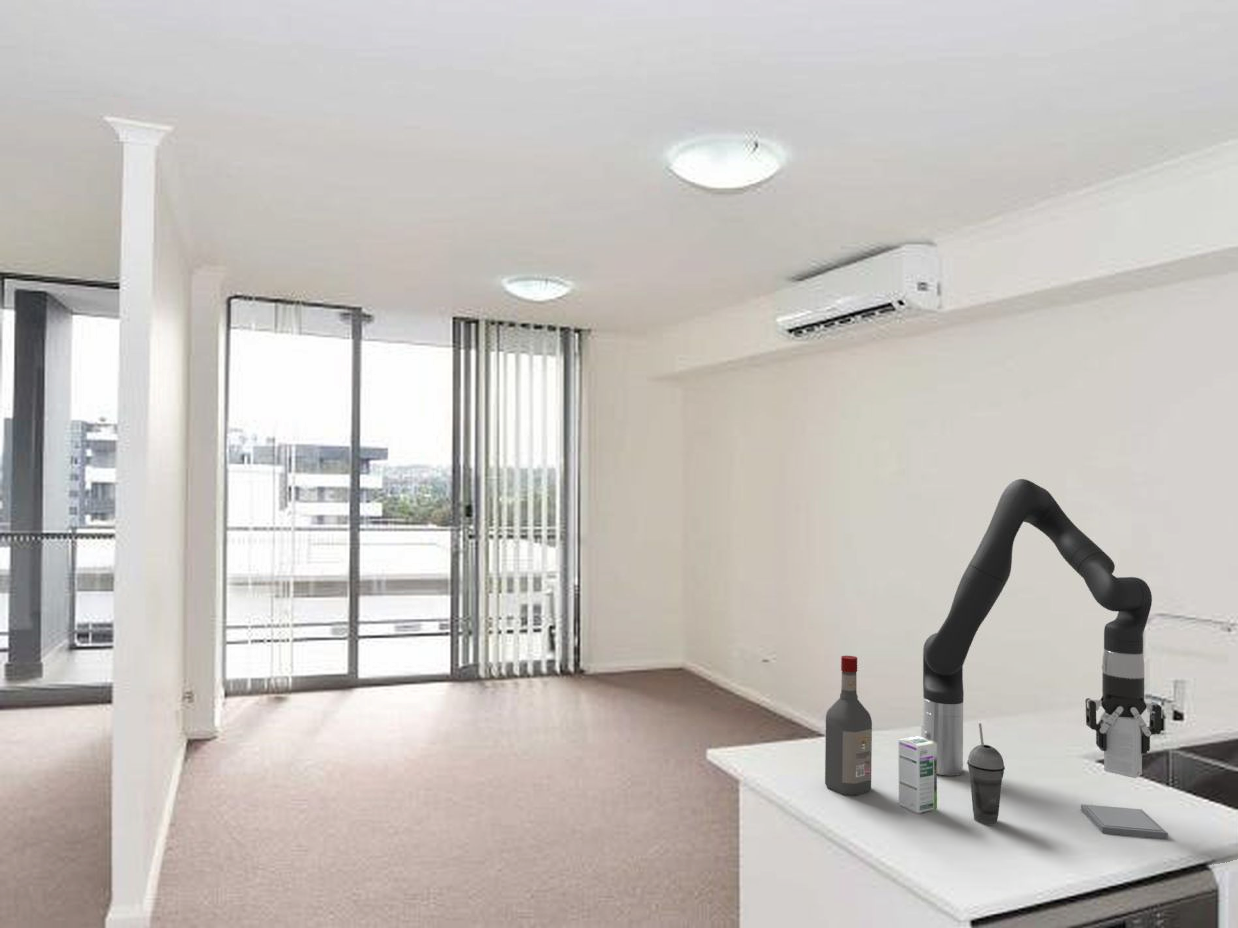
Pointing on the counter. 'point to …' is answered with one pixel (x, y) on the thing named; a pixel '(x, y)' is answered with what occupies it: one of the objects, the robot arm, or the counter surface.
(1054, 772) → the counter surface
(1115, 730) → the skincare box
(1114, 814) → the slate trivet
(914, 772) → the syrup box
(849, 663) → the liquor
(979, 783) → the beverage cup
